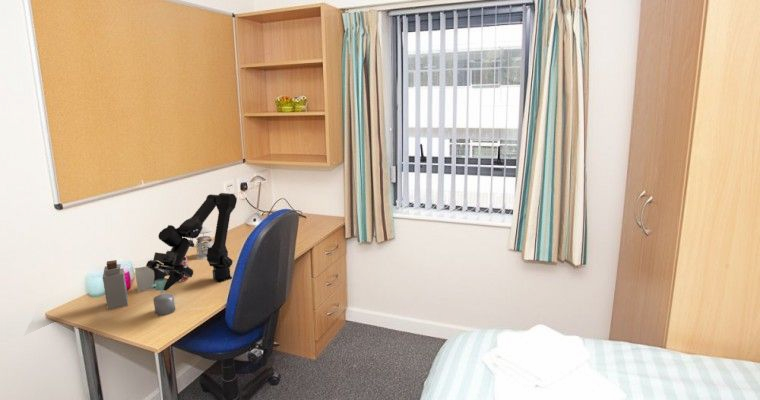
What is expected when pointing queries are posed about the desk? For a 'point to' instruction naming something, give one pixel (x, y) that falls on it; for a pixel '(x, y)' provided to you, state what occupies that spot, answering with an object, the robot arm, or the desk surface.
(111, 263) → the perfume bottle
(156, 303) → the grey rounded lump
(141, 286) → the grey rectangular block
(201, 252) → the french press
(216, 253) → the robot arm
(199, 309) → the desk surface
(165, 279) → the pump head
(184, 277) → the soda can
